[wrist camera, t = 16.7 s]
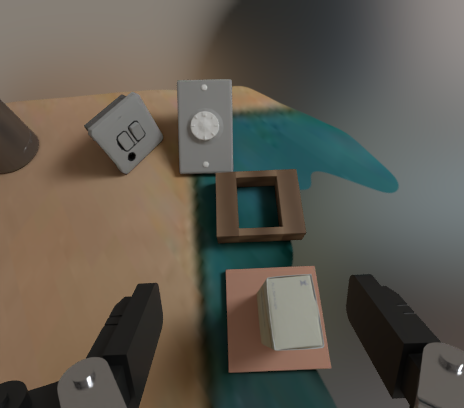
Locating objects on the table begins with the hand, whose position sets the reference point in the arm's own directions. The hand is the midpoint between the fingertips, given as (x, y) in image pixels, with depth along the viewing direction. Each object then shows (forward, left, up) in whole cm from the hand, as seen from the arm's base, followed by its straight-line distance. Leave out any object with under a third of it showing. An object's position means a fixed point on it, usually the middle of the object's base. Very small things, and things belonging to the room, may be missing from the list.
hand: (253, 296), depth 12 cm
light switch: (-4, +29, -27) cm, 40 cm away
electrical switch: (-17, +28, -27) cm, 42 cm away
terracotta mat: (+4, +1, -27) cm, 27 cm away
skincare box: (+4, 0, -26) cm, 26 cm away
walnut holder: (+3, +16, -27) cm, 31 cm away
